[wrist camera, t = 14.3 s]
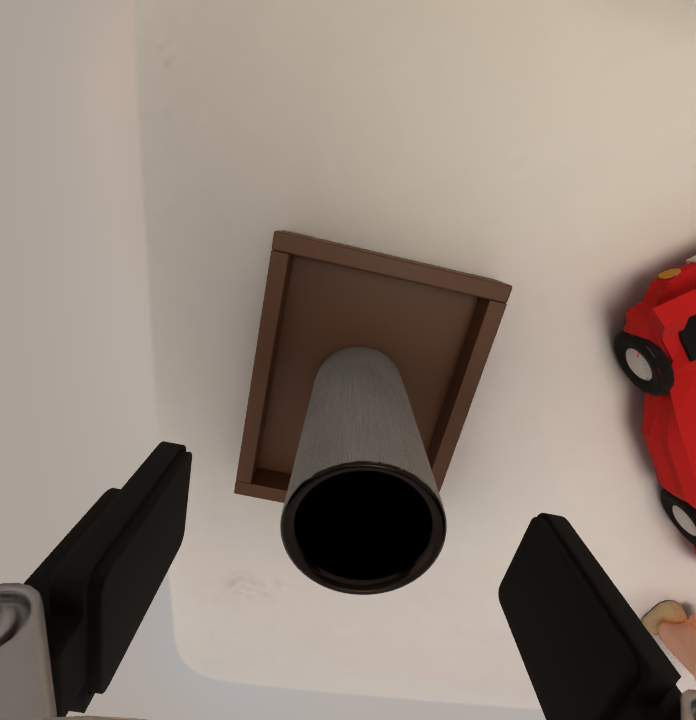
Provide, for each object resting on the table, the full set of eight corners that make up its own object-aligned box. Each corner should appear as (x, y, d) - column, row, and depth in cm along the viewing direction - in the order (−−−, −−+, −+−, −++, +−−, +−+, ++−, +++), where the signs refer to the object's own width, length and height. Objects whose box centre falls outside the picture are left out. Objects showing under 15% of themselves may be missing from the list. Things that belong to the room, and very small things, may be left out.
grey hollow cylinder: (328, 433, 21) (307, 610, 11) (303, 357, 20) (256, 483, 10) (410, 414, 21) (461, 581, 11) (391, 335, 19) (430, 444, 10)
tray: (282, 230, 18) (274, 230, 16) (496, 280, 19) (513, 286, 17) (244, 470, 23) (233, 493, 21) (419, 504, 23) (425, 530, 21)
